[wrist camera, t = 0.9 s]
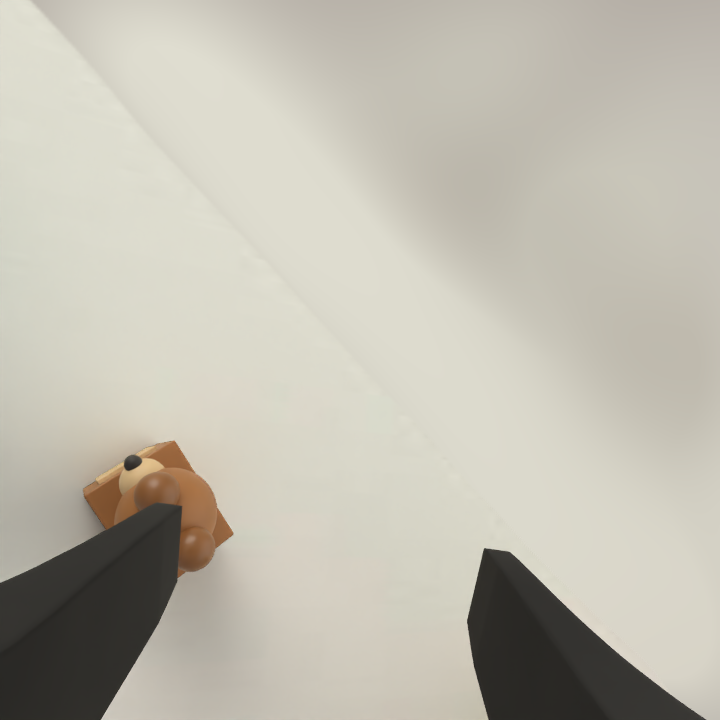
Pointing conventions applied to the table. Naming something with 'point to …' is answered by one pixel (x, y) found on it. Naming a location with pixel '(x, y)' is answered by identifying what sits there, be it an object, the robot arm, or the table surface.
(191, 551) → the toy bear
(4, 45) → the table surface
